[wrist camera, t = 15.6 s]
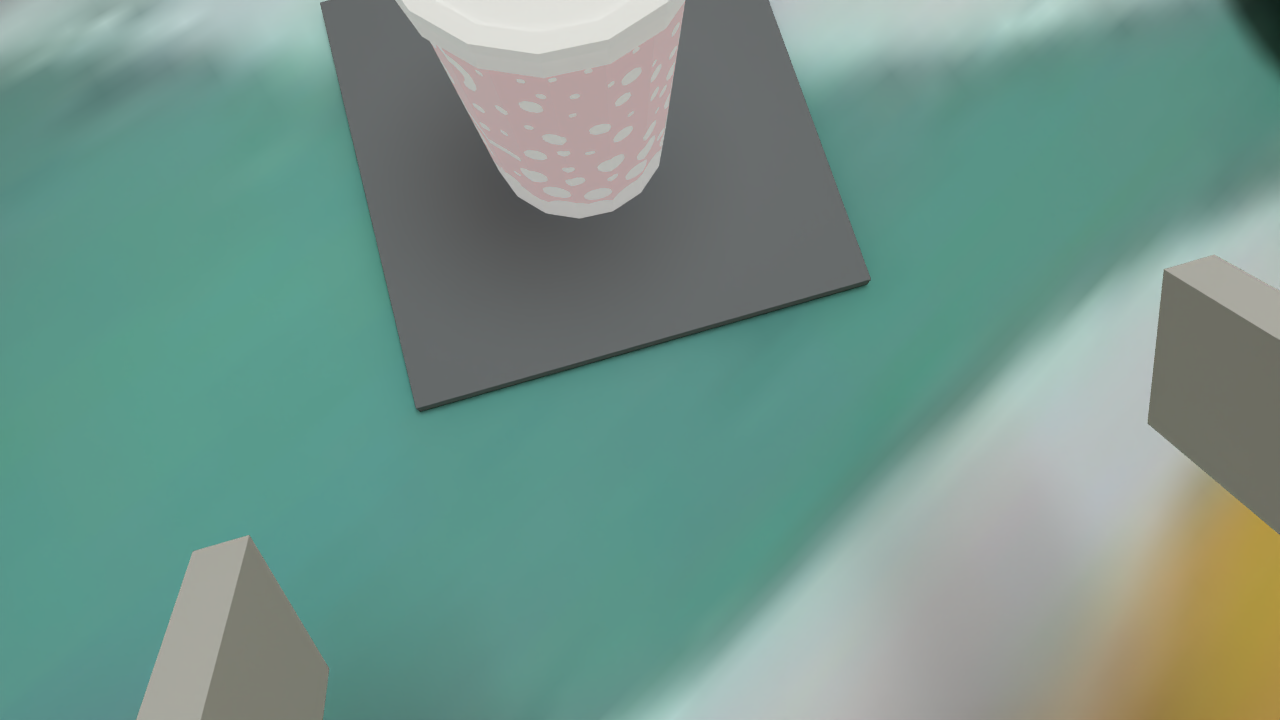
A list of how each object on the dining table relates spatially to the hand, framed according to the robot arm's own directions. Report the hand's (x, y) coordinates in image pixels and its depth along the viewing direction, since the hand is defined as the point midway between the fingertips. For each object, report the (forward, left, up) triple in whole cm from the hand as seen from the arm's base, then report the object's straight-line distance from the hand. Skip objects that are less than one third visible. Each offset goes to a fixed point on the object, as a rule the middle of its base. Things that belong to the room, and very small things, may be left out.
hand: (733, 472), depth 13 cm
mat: (0, +10, -10) cm, 14 cm away
